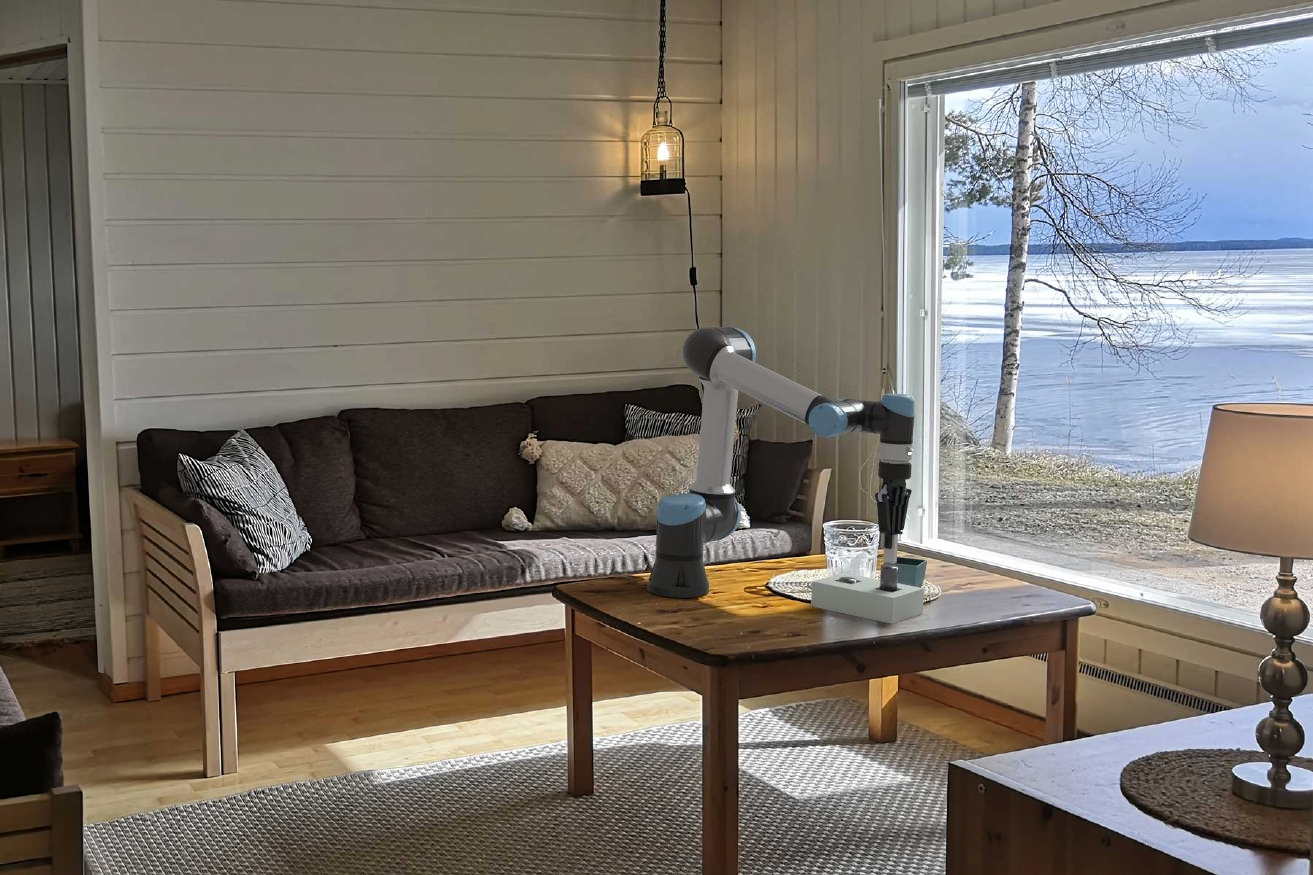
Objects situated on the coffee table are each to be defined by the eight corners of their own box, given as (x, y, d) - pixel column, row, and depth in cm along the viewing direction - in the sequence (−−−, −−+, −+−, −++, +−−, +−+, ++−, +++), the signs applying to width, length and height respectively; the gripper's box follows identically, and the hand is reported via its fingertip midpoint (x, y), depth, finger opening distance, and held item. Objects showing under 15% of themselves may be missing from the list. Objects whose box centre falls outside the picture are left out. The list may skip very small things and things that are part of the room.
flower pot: (880, 597, 320) (882, 561, 319) (891, 590, 328) (893, 555, 327) (915, 602, 316) (917, 566, 315) (925, 595, 324) (927, 559, 323)
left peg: (835, 603, 310) (836, 578, 310) (844, 600, 313) (845, 576, 313) (849, 606, 308) (850, 581, 307) (858, 603, 311) (859, 578, 310)
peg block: (810, 606, 309) (812, 581, 308) (842, 596, 319) (844, 572, 319) (892, 623, 295) (893, 597, 294) (922, 613, 305) (924, 588, 305)
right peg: (876, 591, 303) (877, 566, 302) (885, 588, 306) (886, 563, 305) (891, 594, 300) (892, 569, 299) (900, 591, 303) (901, 566, 302)
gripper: (895, 465, 292) (889, 568, 295) (923, 460, 302) (918, 560, 305) (866, 461, 297) (861, 563, 299) (895, 457, 307) (890, 555, 309)
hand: (889, 561), depth 302 cm, fingers closed
